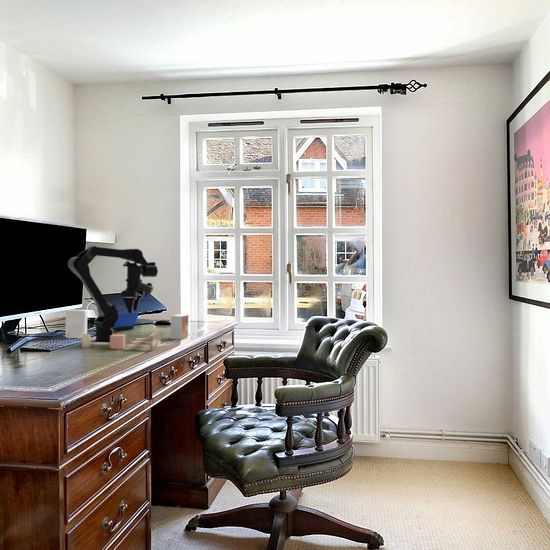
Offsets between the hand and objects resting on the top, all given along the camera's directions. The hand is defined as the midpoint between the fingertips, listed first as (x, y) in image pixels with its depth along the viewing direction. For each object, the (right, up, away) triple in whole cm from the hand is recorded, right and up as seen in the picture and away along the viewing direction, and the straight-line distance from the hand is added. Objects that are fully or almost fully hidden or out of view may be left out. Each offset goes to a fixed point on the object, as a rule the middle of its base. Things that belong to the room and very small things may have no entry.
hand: (132, 311), depth 226 cm
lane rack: (+10, -13, -18) cm, 24 cm away
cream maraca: (-6, -13, -23) cm, 26 cm away
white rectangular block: (-25, -11, 0) cm, 28 cm away
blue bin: (-15, -11, +26) cm, 32 cm away
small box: (+19, -13, +7) cm, 24 cm away
